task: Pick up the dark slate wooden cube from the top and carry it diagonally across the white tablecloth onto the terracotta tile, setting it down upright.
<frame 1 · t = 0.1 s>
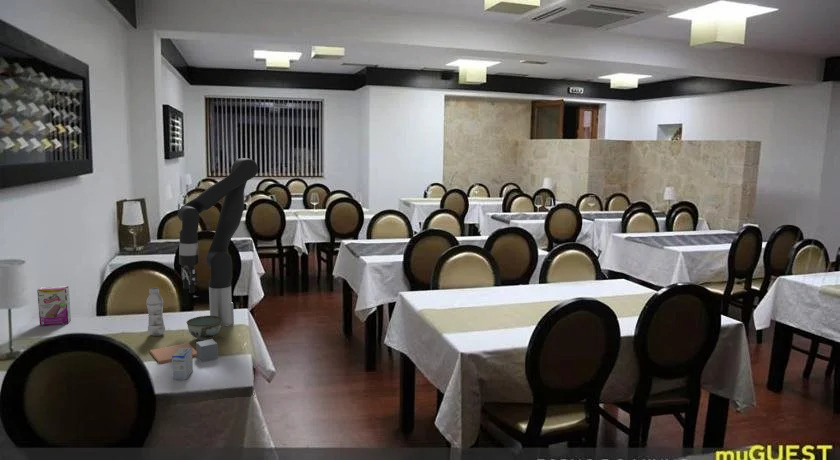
hand: (189, 290, 248), 17 cm above the table, tool pointing down, fingers open, 8 cm apart
bowl: (205, 339, 239), on the table
candy bar box: (55, 324, 256), on the table
medicine box: (183, 376, 201), on the table
slate cube: (207, 358, 218), on the table
plastic bottle: (156, 335, 242), on the table
terracotta tile: (174, 354, 221), on the table
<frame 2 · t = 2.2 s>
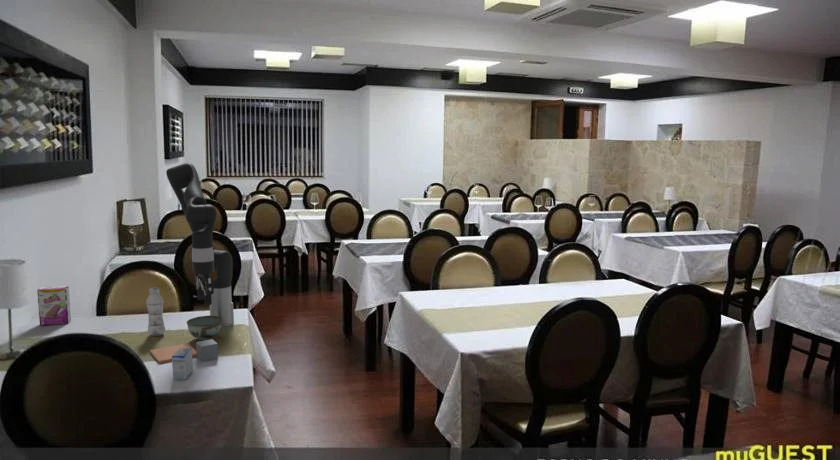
hand: (204, 302, 215), 21 cm above the table, tool pointing down, fingers open, 8 cm apart
nothing on the table moved.
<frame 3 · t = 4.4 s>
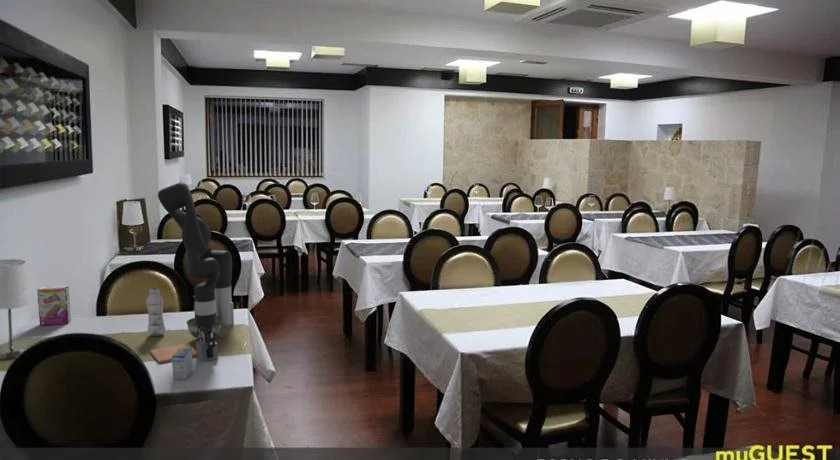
hand: (207, 354, 218), 1 cm above the table, tool pointing down, fingers closed on slate cube, 6 cm apart
slate cube: (207, 357, 218), on the table, touching gripper
everything else where it was.
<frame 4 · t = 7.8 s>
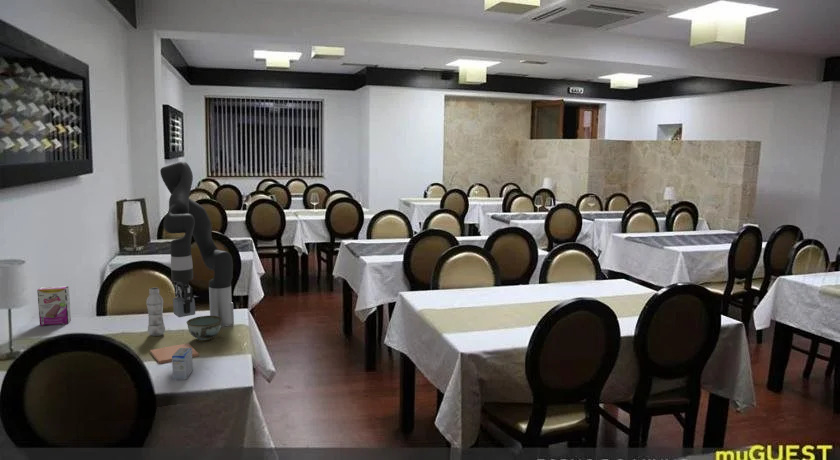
hand: (184, 310, 218), 17 cm above the table, tool pointing down, fingers closed on slate cube, 6 cm apart
slate cube: (184, 314, 218), point 16 cm above the table, touching gripper
everything else where it was.
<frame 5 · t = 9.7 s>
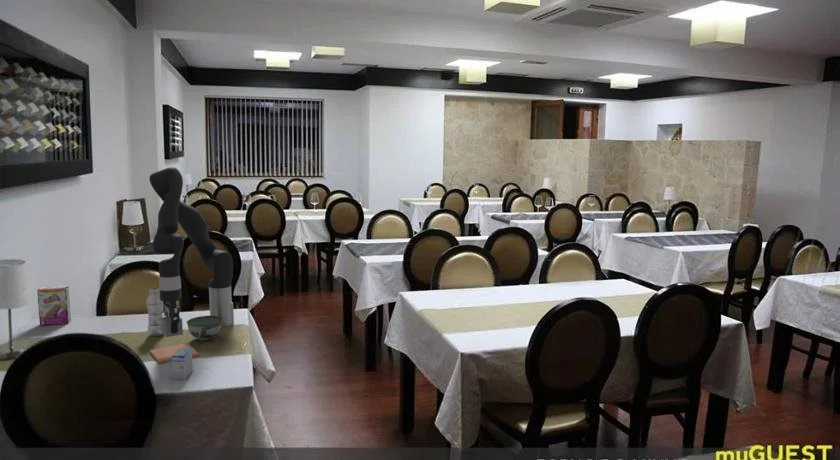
hand: (172, 330, 220), 9 cm above the table, tool pointing down, fingers closed on slate cube, 6 cm apart
slate cube: (172, 333, 220), point 8 cm above the table, touching gripper
everything else where it was.
when the fingers open (4 cm above the table, at t = 11.3 s): slate cube drops 1 cm, resting on terracotta tile.
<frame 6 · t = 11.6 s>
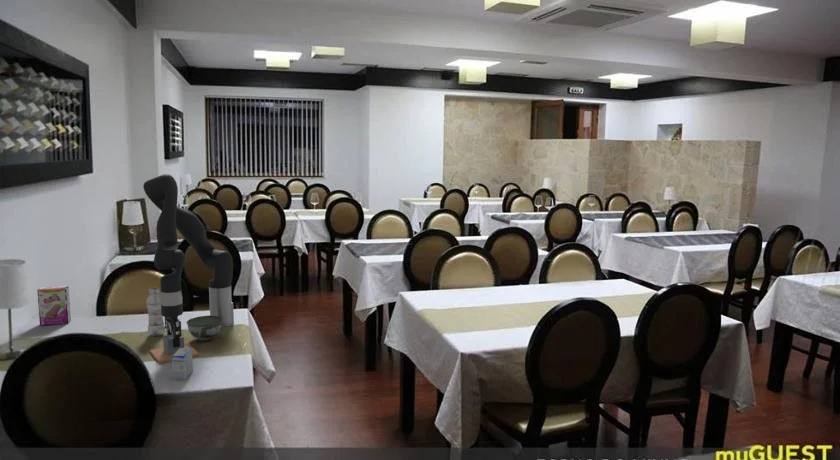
hand: (173, 344, 220), 4 cm above the table, tool pointing down, fingers open, 8 cm apart
slate cube: (174, 351, 221), point 1 cm above the table, touching terracotta tile
everything else where it was.
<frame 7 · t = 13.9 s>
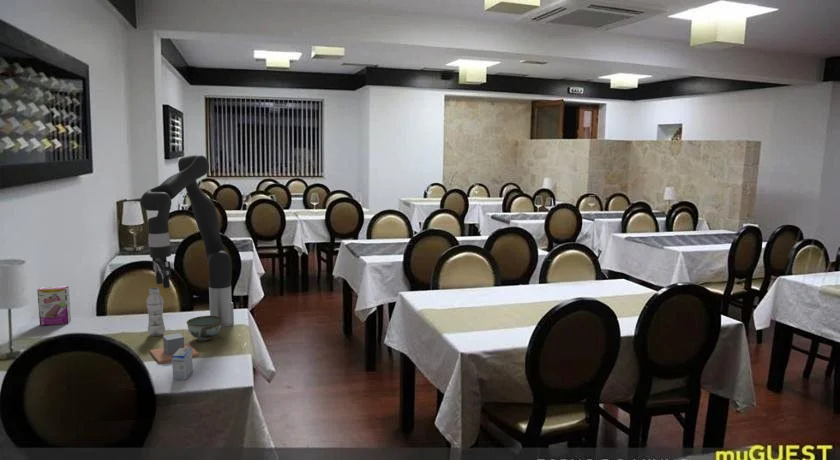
hand: (163, 285, 223), 25 cm above the table, tool pointing down, fingers open, 8 cm apart
nothing on the table moved.
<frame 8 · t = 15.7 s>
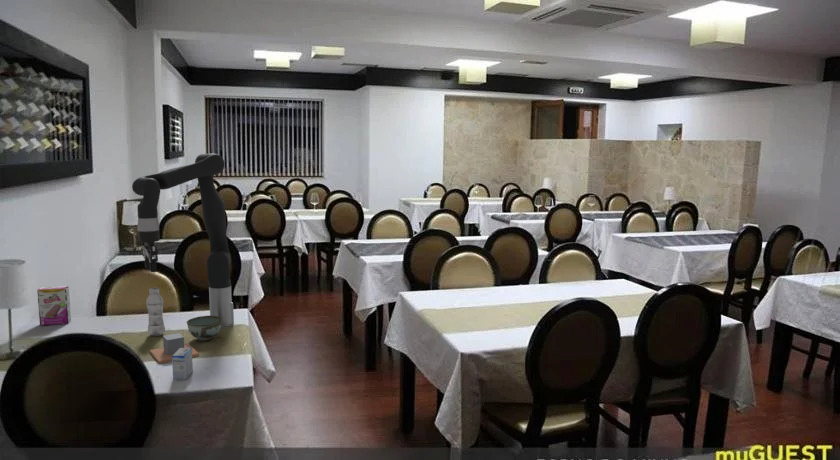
hand: (150, 269, 228), 30 cm above the table, tool pointing down, fingers open, 8 cm apart
nothing on the table moved.
at the end: slate cube inside the target area on the terracotta tile (0.0 cm from its centre), point 1.0 cm above the terracotta tile's base; slate cube tilted 0°; the gripper is holding nothing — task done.
